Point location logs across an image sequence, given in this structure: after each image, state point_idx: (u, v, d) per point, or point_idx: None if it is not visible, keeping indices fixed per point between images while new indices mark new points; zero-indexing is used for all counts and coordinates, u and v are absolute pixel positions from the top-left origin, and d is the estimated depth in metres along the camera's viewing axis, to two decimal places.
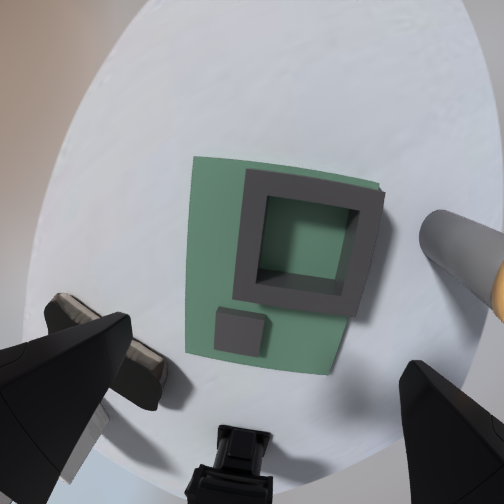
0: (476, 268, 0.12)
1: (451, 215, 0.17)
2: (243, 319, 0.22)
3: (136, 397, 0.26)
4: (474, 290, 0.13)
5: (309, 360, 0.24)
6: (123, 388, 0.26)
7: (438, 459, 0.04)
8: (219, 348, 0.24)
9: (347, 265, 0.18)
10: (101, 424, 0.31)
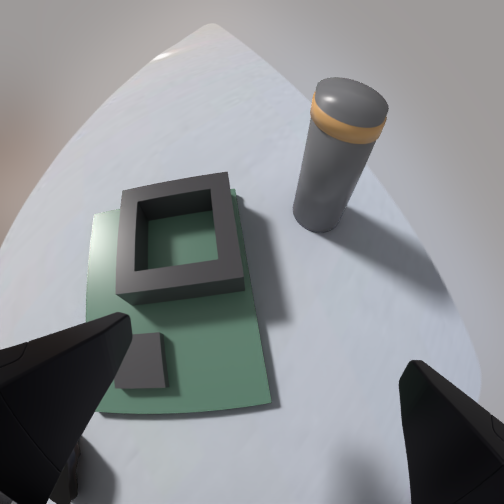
0: (310, 145, 0.17)
1: None
2: (138, 337, 0.18)
3: None
4: (326, 162, 0.16)
5: (235, 385, 0.18)
6: None
7: (438, 459, 0.04)
8: (120, 385, 0.17)
9: (215, 233, 0.20)
10: None
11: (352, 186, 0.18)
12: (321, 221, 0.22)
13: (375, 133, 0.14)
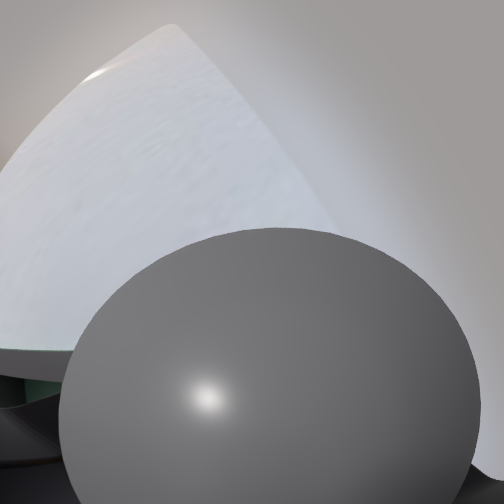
0: None
1: None
2: None
3: None
4: None
5: None
6: None
7: None
8: None
9: None
10: None
11: None
12: None
13: None
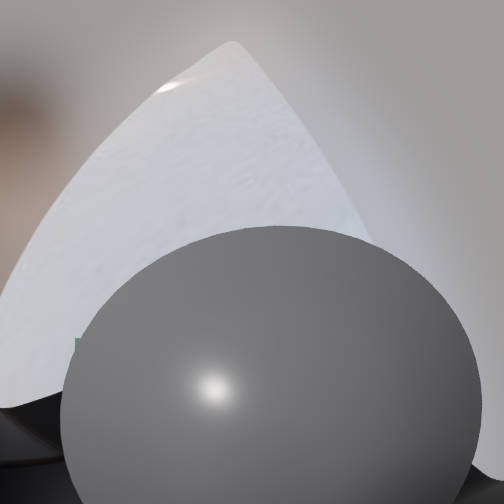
0: None
1: None
2: None
3: None
4: None
5: None
6: None
7: None
8: None
9: None
10: None
11: None
12: None
13: None
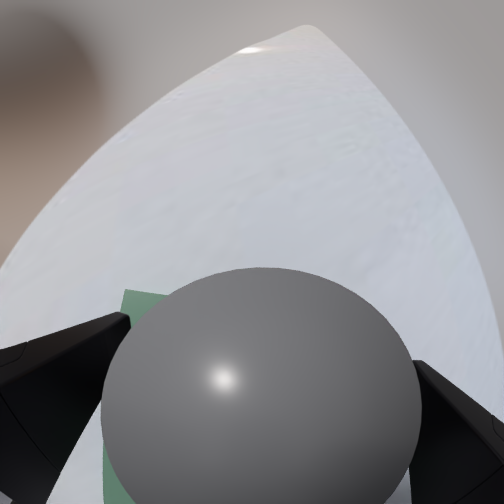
0: None
1: None
2: None
3: None
4: None
5: None
6: None
7: (438, 459, 0.04)
8: None
9: None
10: None
11: None
12: None
13: None
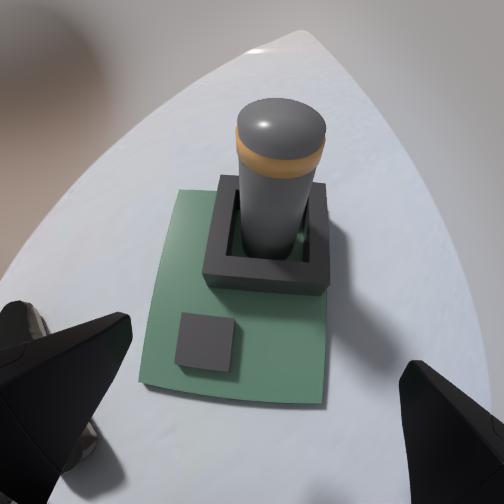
0: (240, 179, 0.16)
1: None
2: (211, 319, 0.20)
3: None
4: (256, 198, 0.15)
5: (293, 381, 0.19)
6: None
7: (438, 459, 0.04)
8: (181, 362, 0.18)
9: (308, 238, 0.21)
10: None
11: (294, 220, 0.18)
12: (267, 255, 0.21)
13: (307, 164, 0.13)
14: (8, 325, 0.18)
